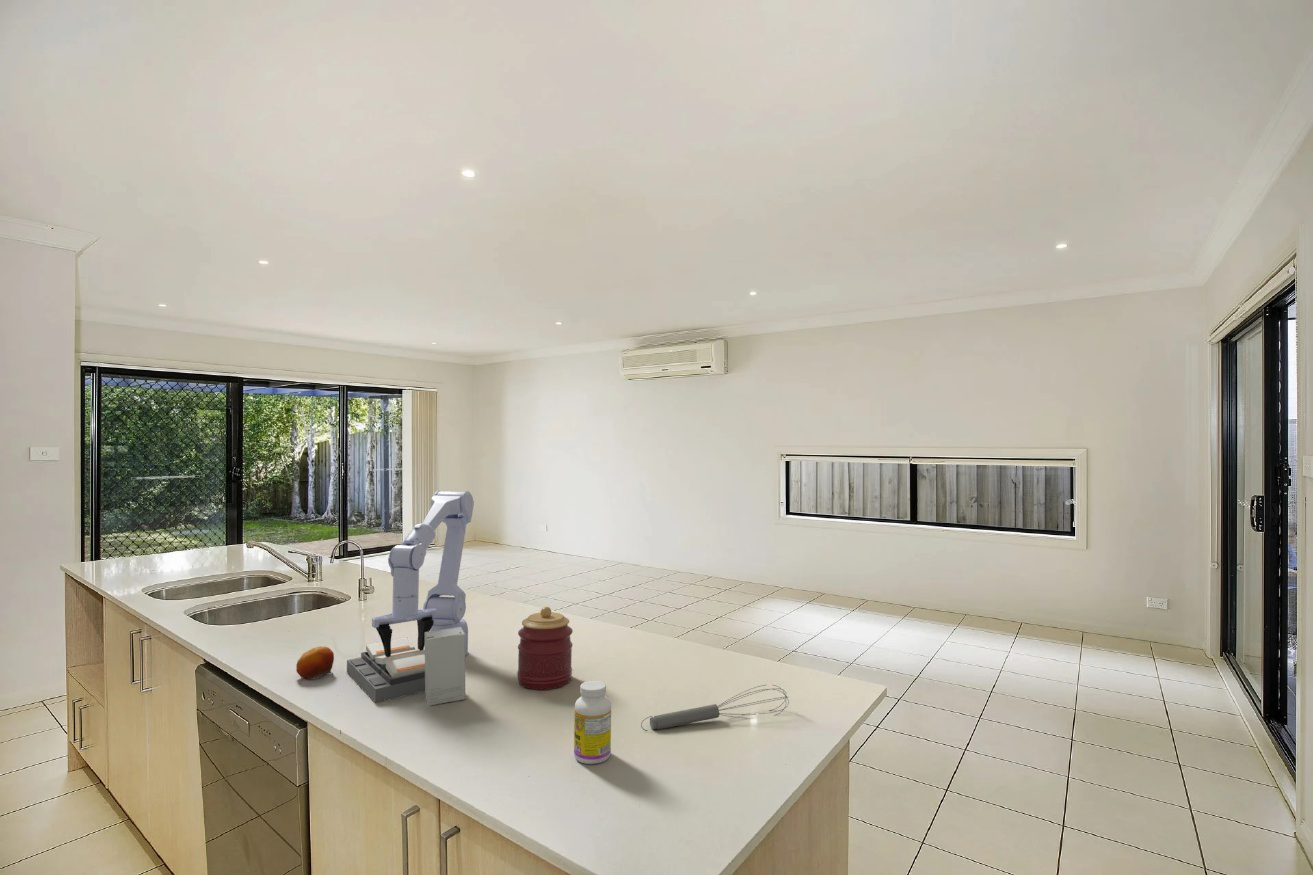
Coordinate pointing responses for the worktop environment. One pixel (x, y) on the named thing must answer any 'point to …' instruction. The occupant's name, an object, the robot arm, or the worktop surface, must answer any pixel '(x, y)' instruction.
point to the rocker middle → (398, 656)
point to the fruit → (315, 663)
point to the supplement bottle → (592, 724)
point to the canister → (544, 651)
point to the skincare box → (444, 666)
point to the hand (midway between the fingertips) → (404, 652)
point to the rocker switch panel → (382, 679)
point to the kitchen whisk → (701, 713)
